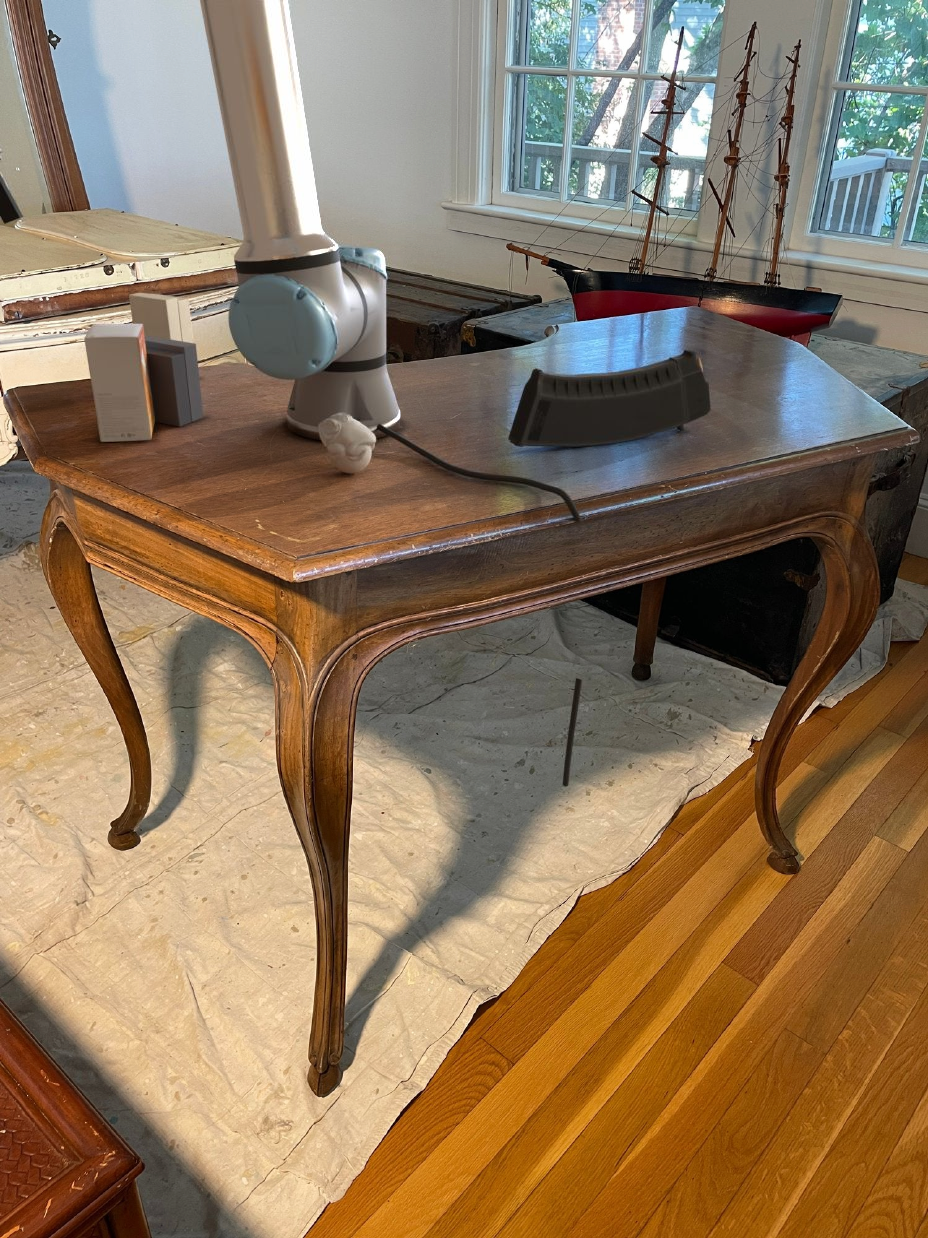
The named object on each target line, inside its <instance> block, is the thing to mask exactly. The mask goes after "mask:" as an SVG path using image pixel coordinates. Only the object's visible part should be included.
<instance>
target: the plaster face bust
mask: <svg viewBox="0 0 928 1238" xmlns="http://www.w3.org/2000/svg"><path fill="white" fill-rule="evenodd" d="M318 429H319V435H320V438H321V440H320V441H321V443H322V444H323V447H324V448H326V450H327V452H328V455H329V459H330V461H331V463H332V465H333V466H334V467H335V468H336V469H337V470H338V471H340V472H342V473H346V474H356V473H359V472H362V471H363V470H364V469H365V468H366V467H367V466H368V465H369V464H370V461H371V460H372V459H371V458H372V451H373V450H374V449H375V446H376V445H375V444H376V442H377V438H376V437H375V435H374V434H373V433H372V432H371V431H370V430H369V429H368V428H367V427H366V426H365V425H363V424H361V423H360V422H359V421H357V420H355V419H353V418H352V416H350V415H349V414H346V413H337V414H335V415H332V416H330V417H329V418H328V419H325V420H323V422H321V423H320V424H319V425H318Z"/></svg>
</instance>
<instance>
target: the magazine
mask: <svg viewBox="0 0 928 1238" xmlns="http://www.w3.org/2000/svg"><path fill="white" fill-rule="evenodd" d="M711 409H712V406H711V393H710V383H709V382H708V381H707V380H706V378H705V374H704V370H703V365H702V361H701V358H700V356H697V353H696V351H695V350H692V349H690V348H686V349H684V350H683V352H682V353H681V354H678V355H675V356H670V357H668V358H667V359H664V360H660V361H657V362H654V363H652V364H651V363H650V364H648V365H643V366H640V367H634V368H630V369H624V370H617V371H611V372H597V373H596V372H595V373H594V372H593V373H578V374H577V373H576V374H564V373H552V372H547V371H543V370H542V369H540V368H538V367H535V368H533V369H532V371H531V374H530V376H529V379H528V380H527V382H526V383H525V384H524V387H523V390H522V393H521V396H520V399H519V402H518V405H517V409H516V412H515V415H514V418H513V421H512V424H511V428H510V430H509V434H508V437H507V438H508V441H509V442H510V443H511V444H512V445H514V446H516V447H520V448H523V447H555V448H558V447H559V448H573V447H574V448H577V447H578V448H579V447H597V446H604V445H605V446H607V445H614V444H620V443H626V442H631V441H635V440H640V439H644V438H647V437H651V436H653V435H657V434H659V433H663V432H667V431H669V430H673V429H675V428H676V429H677V430H678V431H681V432H684V431H685V427H684V426H685V425H686V424H689V423H691V422H693V421H696V420H698V419H700V418H702V417H704V416H707V415H709V413H710V412H711Z"/></svg>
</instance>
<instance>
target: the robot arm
mask: <svg viewBox="0 0 928 1238" xmlns="http://www.w3.org/2000/svg"><path fill="white" fill-rule="evenodd" d="M199 3H200V9H201V14H202V19H203V24H204V30H205V35H206V42H207V46H208V51H209V58H210V63H211V67H212V73H213V79H214V84H215V89H216V94H217V100H218V105H219V106H218V107H219V110H220V111H219V112H220V116H221V117H220V118H221V122H222V127H223V132H224V137H225V144H226V148H227V153H228V154H227V155H228V160H229V164H230V170H231V175H232V182H233V186H234V192H235V196H236V197H235V198H236V202H237V207H238V213H239V218H240V219H239V220H240V223H241V229H242V234H243V239H242V242H241V244H240V246H239V247H238V249H236V252H235V253H234V254H233V262H234V266H235V267H234V268H235V272H236V278H237V282H238V287H237V288H236V291H235V293H234V295H233V297H232V299H231V300H230V303H229V307H228V314H227V315H228V316H227V317H228V327H229V331H230V335H231V337H232V340H233V342H234V345H235V347H236V348H237V350H238V352H239V353H240V354H241V355H242V357H243V358H244V359H245V360H246V361H247V362H248V363H249V364H251V365H252V366H254V368H256V369H257V370H258V371H259V372H261V373H263V374H264V375H266V376H269V377H272V378H274V379H279V380H286V381H293V380H294V383H293V386H292V389H291V393H290V397H289V400H288V404H287V408H286V424H287V427H288V429H289V430H290V431H291V432H293V433H294V434H296V435H298V436H301V437H303V438H306V439H307V438H308V439H311V440H317V441H321V438H320V435H319V429H318V425H319V424H320V423H321V422H323V420H325V419H328V418H329V417H330V416H332V415H335V414H337V413H346V414H349V415H350V416H352V418H353V419H355V420H357V421H359V422H360V423H361V424H363V425H365V426H366V427H367V428H368V429H369V430H370V431H371V432H372V433H373V434H374V435H375V437H376V439H380V438H383V437H386V436H388V437H390V438H393V439H394V440H395V441H398V442H399V443H400V444H402V445H404V446H405V447H407V448H408V449H410V450H412V451H414V452H415V453H417V454H419V455H420V456H423V457H424V458H426V459H428V460H429V461H431V462H433V463H434V464H436V465H438V466H440V468H443V469H445V470H447V471H450V472H452V473H455V474H458V475H460V476H464V477H468V478H473V479H477V480H485V481H492V482H502V483H510V484H511V483H512V484H519V485H523V486H524V485H525V486H529V487H533V488H536V489H539V490H541V491H545V492H547V493H552V494H555V495H557V496H558V497H559V498H561V499H562V500H563V502H564V503H565V505H566V506H567V508H568V510H569V512H570V513H571V516H572V518H573V520H574V521H575V522H578V523H580V522H583V520H582V517H581V515H580V513H579V510H578V509H577V506H576V505H575V503H574V501H573V499H572V498H571V496H570V495H569V494H568V492H566V491H565V490H563V489H562V488H560V487H557V486H553V485H550V484H547V483H543V482H541V481H537V480H534V479H531V478H527V477H521V476H514V475H506V474H505V475H504V474H495V473H486V472H479V471H473V470H469V469H465V468H462V467H459V466H457V465H454V464H451V463H449V462H447V461H445V460H444V459H442V458H440V457H438V456H437V455H435V454H433V453H431V452H430V451H428V450H426V449H424V448H423V447H420V446H419V445H418V444H416V443H414V442H412V441H411V440H409V439H407V438H405V437H404V436H403V435H401V434H398V433H397V432H396V431H397V430H398V429H399V428H400V426H401V410H400V408H399V405H398V402H397V398H396V395H395V391H394V388H393V385H392V383H391V382H392V381H391V378H390V376H389V372H388V370H387V281H388V274H387V272H386V271H387V269H386V258H385V256H384V253H382V251H381V250H379V249H377V248H374V247H373V248H372V247H363V246H351V245H350V246H348V245H338V243H337V242H336V241H335V240H333V238H331V237H330V236H328V235H327V234H326V233H325V231H324V230H323V227H322V223H321V217H320V211H319V210H320V209H319V203H318V197H317V189H316V183H315V175H314V170H313V162H312V156H311V149H310V144H309V136H308V129H307V123H306V122H307V121H306V117H305V109H304V102H303V96H302V90H301V82H300V76H299V69H298V63H297V56H296V55H297V54H296V49H295V48H296V47H295V43H294V36H293V29H292V21H291V15H290V9H289V3H288V0H199ZM3 155H4V151H3V148H1V146H0V163H1V162H2V161H3V157H2V156H3ZM21 218H24V214H23V213H22V211H21V210H20V207H19V206H18V204H17V202H16V200H15V198H14V197H13V194H12V193H11V191H10V187H9V185H8V183H7V181H6V179H5V177H4V175H3V173H2V171H1V170H0V219H1V221H2V222H3V224H4V225H6V224H9V223H10V222H11V223H12V222H14V221H17V220H18V219H21ZM582 683H583V679H581V678H577V677H575V682H574V688H573V689H574V690H573V696H572V704H571V710H570V717H569V724H568V725H569V726H568V730H567V731H568V733H567V740H566V747H565V756H564V765H563V775H562V787H565V788H566V787H568V786H569V783H570V774H571V765H572V755H573V746H574V741H575V733H576V725H577V717H578V711H579V704H580V698H581V691H582Z"/></svg>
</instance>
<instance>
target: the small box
mask: <svg viewBox="0 0 928 1238" xmlns="http://www.w3.org/2000/svg"><path fill="white" fill-rule="evenodd" d="M83 340H84V347H85V352H86V359H87V365H88V372H89V377H90V383H91V389H92V390H91V391H92V395H93V401H94V406H95V414H96V421H97V428H98V435H99V441H100V442H101V443H109V442H110V443H111V442H113V443H114V442H138V441H151V440H152V438H153V432H154V427H155V423H156V422H155V415H154V408H153V400H152V393H151V385H150V377H149V369H148V361H147V353H146V345H145V337H144V328H143V324H133V323H93V324H92V325H90V327H89V329H87V332H86V334H85V336H84V339H83Z"/></svg>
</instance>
